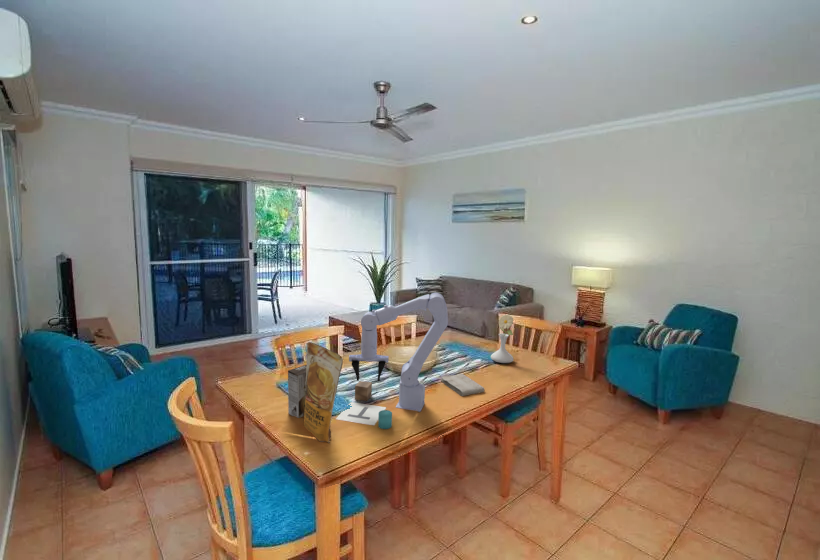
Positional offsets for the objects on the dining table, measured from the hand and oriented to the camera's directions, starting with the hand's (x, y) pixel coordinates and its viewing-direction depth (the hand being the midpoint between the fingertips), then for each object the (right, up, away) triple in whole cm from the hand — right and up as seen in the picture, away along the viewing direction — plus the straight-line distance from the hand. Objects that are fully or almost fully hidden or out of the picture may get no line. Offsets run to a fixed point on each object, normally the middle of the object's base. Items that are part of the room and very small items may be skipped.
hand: (368, 380), depth 153 cm
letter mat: (-2, -10, -7) cm, 13 cm away
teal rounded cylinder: (+7, -12, -15) cm, 21 cm away
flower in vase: (+62, -4, +54) cm, 82 cm away
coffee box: (-22, -10, -7) cm, 25 cm away
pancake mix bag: (-14, -12, -20) cm, 27 cm away
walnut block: (-3, -9, +5) cm, 10 cm away
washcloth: (+37, -9, +21) cm, 44 cm away
